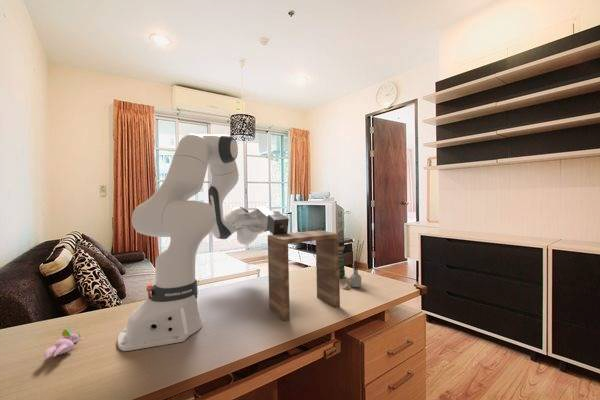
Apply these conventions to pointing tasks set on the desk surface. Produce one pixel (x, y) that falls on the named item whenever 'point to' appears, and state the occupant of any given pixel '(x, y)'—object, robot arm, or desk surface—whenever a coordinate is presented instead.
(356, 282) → the reed diffuser
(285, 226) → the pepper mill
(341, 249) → the coffee jar
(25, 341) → the desk surface
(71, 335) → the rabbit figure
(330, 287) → the shelf
